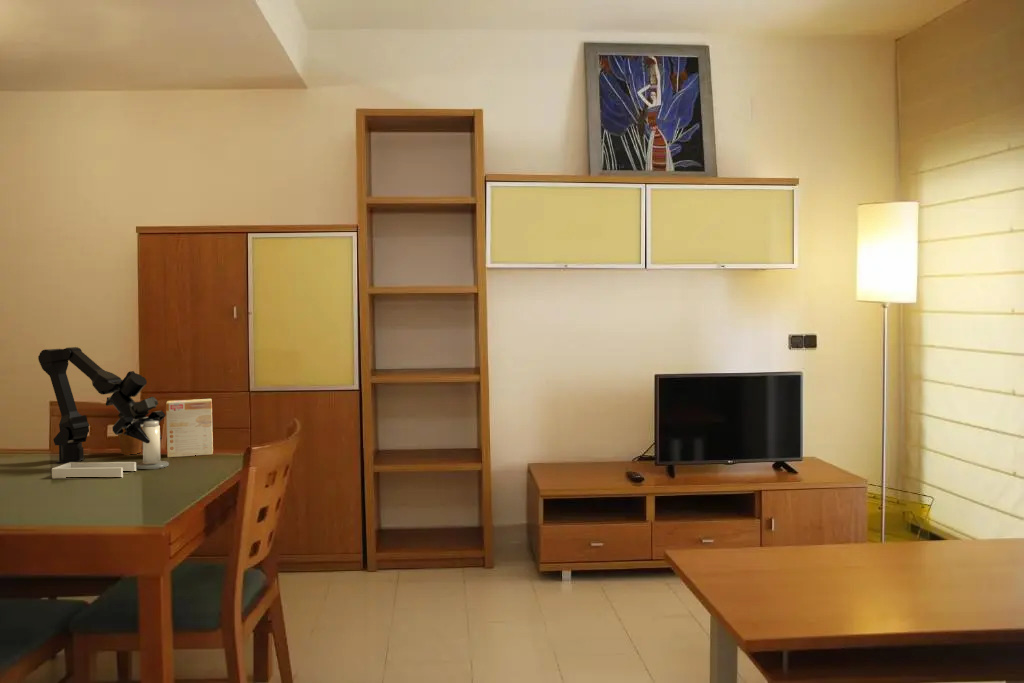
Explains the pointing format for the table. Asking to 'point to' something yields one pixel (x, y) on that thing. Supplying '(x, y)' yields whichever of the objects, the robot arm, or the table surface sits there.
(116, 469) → the channel
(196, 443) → the coffeecake box
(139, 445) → the disposable coffee cup
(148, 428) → the salt mill
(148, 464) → the coaster
